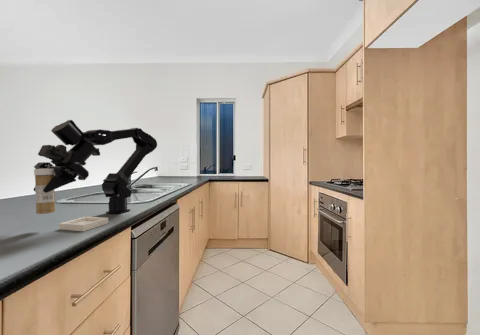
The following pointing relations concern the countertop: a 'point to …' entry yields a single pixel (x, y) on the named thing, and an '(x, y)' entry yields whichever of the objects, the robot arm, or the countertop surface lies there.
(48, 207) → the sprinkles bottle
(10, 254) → the countertop surface
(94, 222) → the tray
